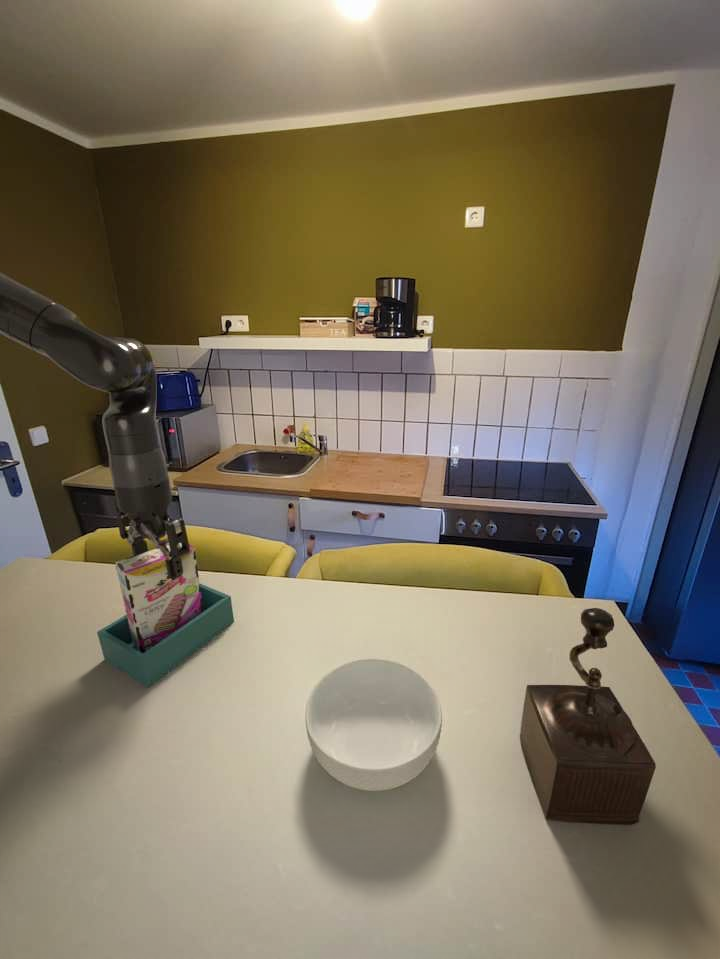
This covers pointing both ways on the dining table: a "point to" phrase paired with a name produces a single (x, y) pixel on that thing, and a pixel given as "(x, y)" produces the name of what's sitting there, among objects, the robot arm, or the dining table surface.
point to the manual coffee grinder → (585, 744)
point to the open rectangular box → (166, 640)
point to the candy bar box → (158, 596)
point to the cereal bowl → (373, 723)
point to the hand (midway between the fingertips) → (159, 569)
